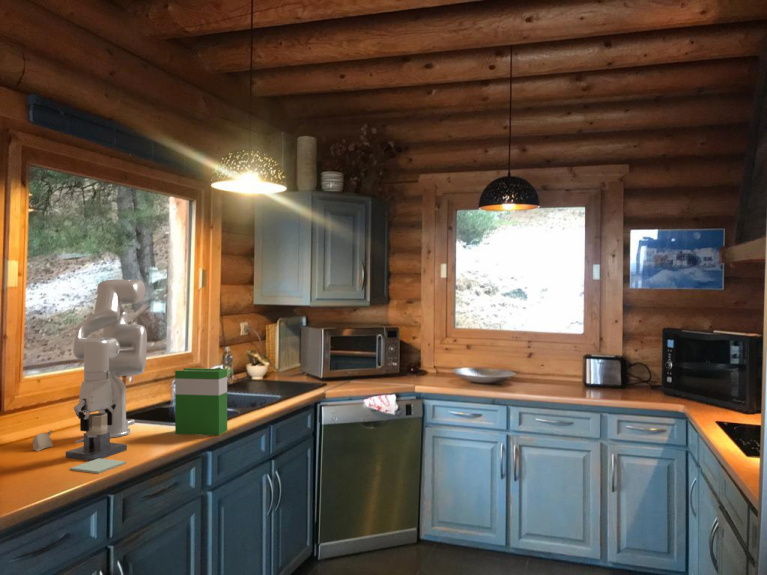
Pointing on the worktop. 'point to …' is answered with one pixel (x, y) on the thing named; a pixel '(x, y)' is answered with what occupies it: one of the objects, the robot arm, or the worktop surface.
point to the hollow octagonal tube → (97, 424)
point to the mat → (98, 465)
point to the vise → (95, 448)
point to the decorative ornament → (42, 441)
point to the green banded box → (201, 401)
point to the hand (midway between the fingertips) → (96, 427)
